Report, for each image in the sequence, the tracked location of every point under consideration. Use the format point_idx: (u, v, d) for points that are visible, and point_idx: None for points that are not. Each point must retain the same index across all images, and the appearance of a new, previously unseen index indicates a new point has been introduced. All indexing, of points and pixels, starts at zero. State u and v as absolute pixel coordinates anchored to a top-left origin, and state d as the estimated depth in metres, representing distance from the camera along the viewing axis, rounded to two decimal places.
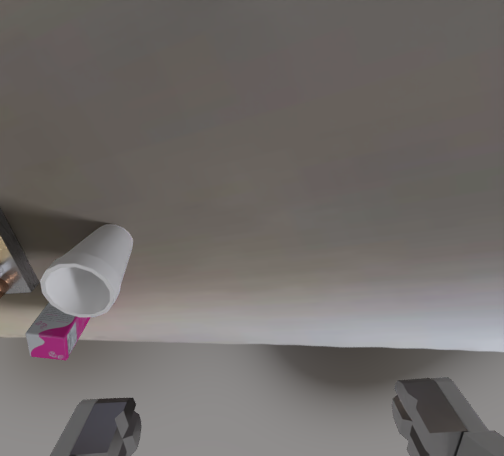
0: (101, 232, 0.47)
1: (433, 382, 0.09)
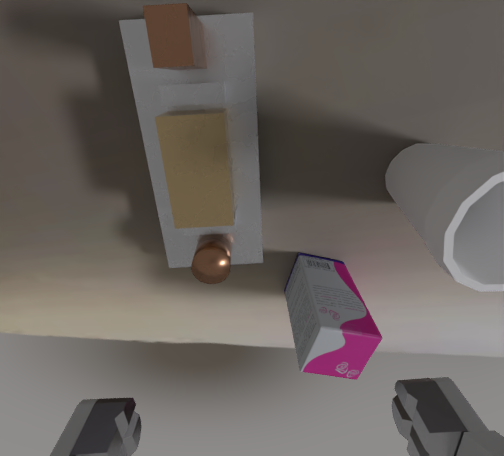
0: (447, 145, 0.26)
1: (433, 382, 0.09)
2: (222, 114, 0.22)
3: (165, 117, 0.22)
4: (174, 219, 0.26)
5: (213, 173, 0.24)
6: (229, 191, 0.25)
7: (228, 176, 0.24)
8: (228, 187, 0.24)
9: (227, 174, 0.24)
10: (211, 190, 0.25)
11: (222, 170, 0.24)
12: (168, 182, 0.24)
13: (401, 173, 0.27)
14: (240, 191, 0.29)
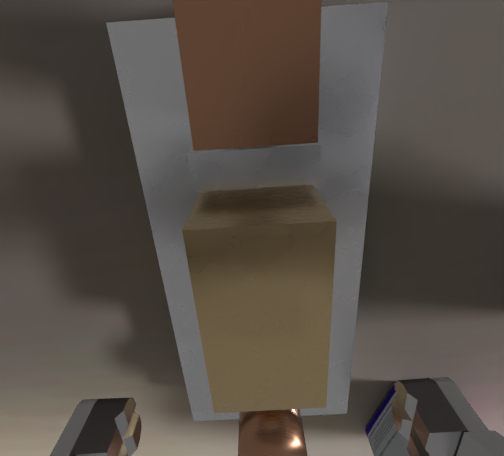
0: None
1: (433, 382, 0.09)
2: (333, 223, 0.10)
3: (205, 231, 0.10)
4: (213, 400, 0.13)
5: (299, 329, 0.12)
6: (326, 357, 0.12)
7: (328, 332, 0.12)
8: (325, 350, 0.12)
9: (327, 330, 0.12)
10: (291, 355, 0.12)
11: (318, 323, 0.12)
12: (205, 344, 0.12)
13: None
14: None
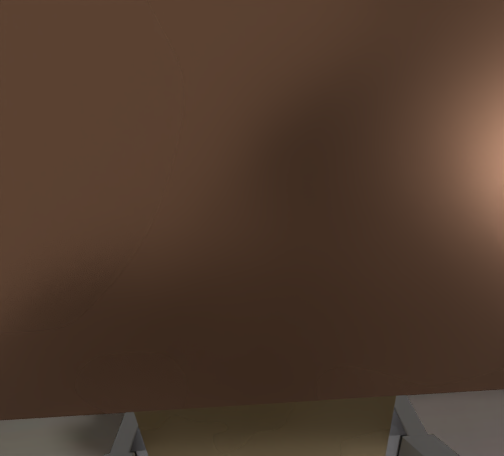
0: None
1: None
2: None
3: None
4: None
5: None
6: None
7: None
8: None
9: None
10: None
11: None
12: None
13: None
14: None
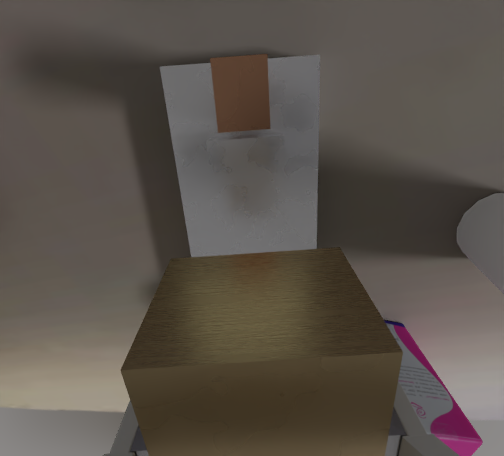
0: None
1: None
2: (396, 357, 0.05)
3: (164, 370, 0.05)
4: None
5: None
6: None
7: None
8: None
9: None
10: None
11: None
12: None
13: (487, 232, 0.23)
14: None
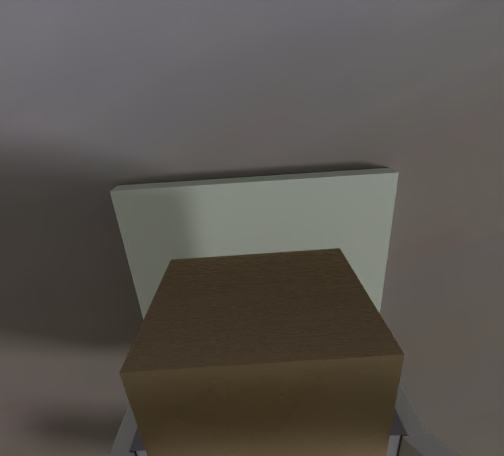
0: None
1: None
2: (397, 359, 0.05)
3: (163, 372, 0.05)
4: None
5: None
6: None
7: None
8: None
9: None
10: None
11: None
12: None
13: None
14: None
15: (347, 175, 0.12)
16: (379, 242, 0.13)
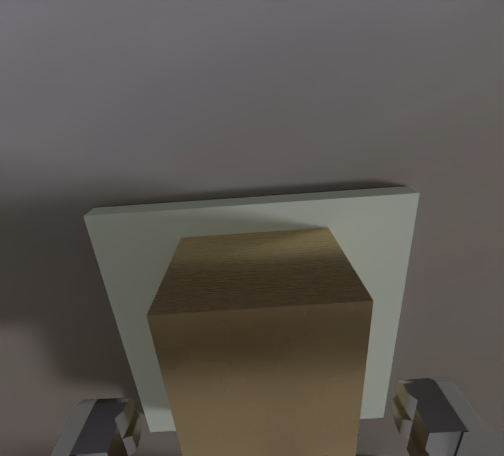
0: None
1: (433, 382, 0.09)
2: (368, 304, 0.07)
3: (181, 316, 0.07)
4: None
5: (315, 433, 0.08)
6: None
7: (354, 436, 0.09)
8: None
9: (353, 434, 0.09)
10: None
11: (342, 426, 0.08)
12: (187, 453, 0.09)
13: None
14: None
15: (360, 196, 0.10)
16: (396, 270, 0.11)
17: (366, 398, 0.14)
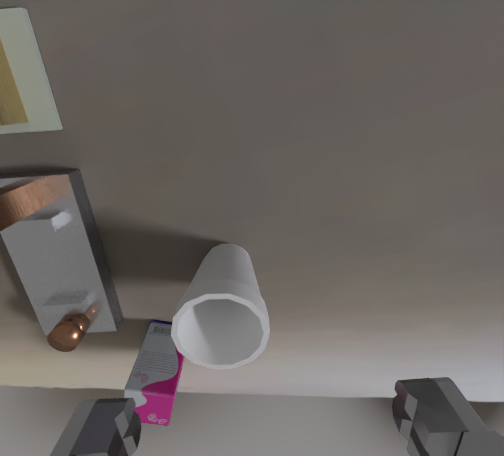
0: (226, 253, 0.37)
1: (434, 382, 0.09)
2: None
3: None
4: None
5: None
6: None
7: None
8: None
9: None
10: None
11: None
12: None
13: None
14: (86, 282, 0.39)
15: None
16: (28, 43, 0.30)
17: (46, 116, 0.32)
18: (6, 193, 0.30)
